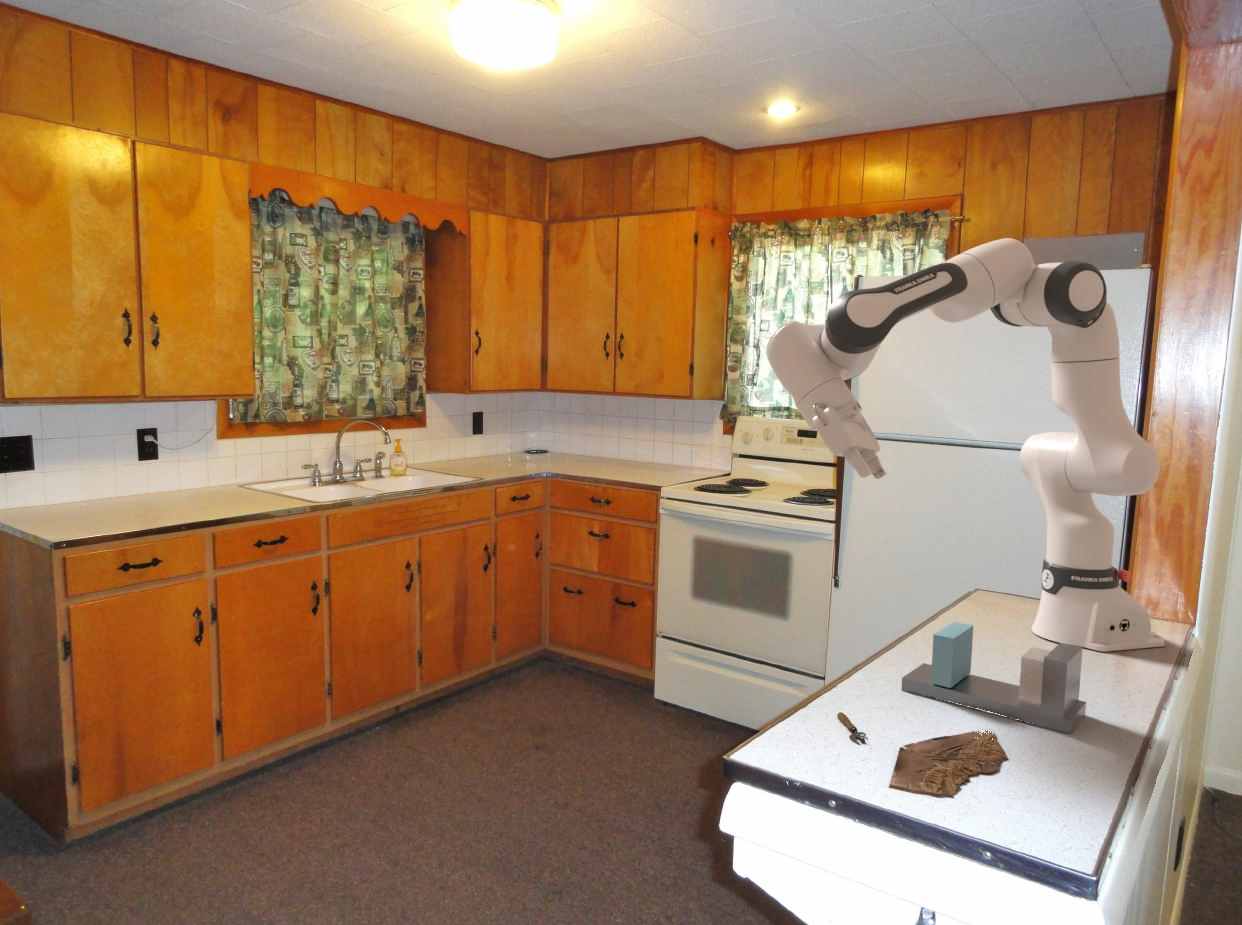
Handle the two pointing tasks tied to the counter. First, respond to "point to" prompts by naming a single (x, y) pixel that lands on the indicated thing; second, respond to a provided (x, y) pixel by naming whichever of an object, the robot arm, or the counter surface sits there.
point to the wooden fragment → (945, 763)
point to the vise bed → (1016, 691)
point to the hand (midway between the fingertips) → (874, 476)
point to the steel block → (1032, 677)
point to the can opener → (851, 728)
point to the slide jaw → (951, 654)
